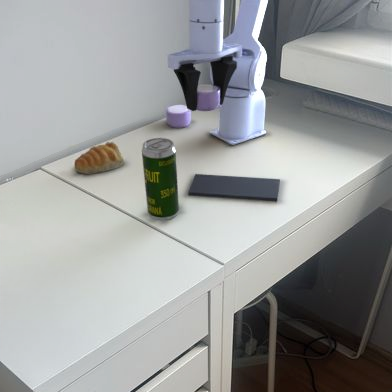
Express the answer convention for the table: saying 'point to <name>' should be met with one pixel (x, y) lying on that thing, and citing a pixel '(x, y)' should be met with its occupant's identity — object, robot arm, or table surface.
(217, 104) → the top dish
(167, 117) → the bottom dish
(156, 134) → the table surface
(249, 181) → the felt mat
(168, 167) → the green metal cylinder
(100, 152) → the pastry
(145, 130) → the table surface
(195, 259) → the table surface
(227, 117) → the robot arm
